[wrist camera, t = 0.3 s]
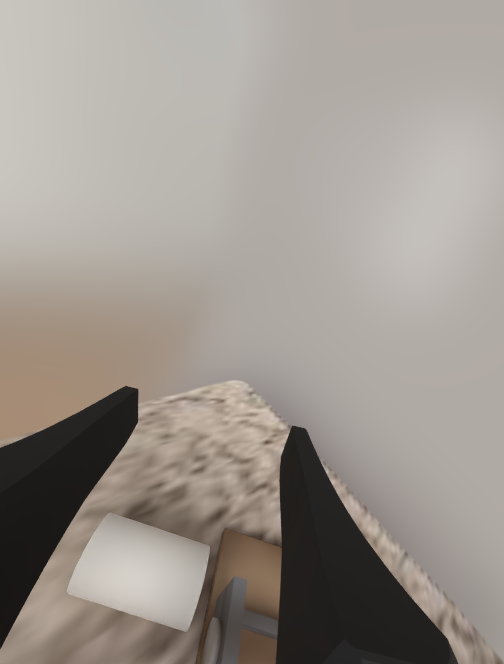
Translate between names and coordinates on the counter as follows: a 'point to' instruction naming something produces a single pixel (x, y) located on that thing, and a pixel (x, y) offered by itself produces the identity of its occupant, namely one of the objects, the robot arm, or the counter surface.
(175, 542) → the roll
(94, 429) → the robot arm
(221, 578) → the holder
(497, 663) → the counter surface
